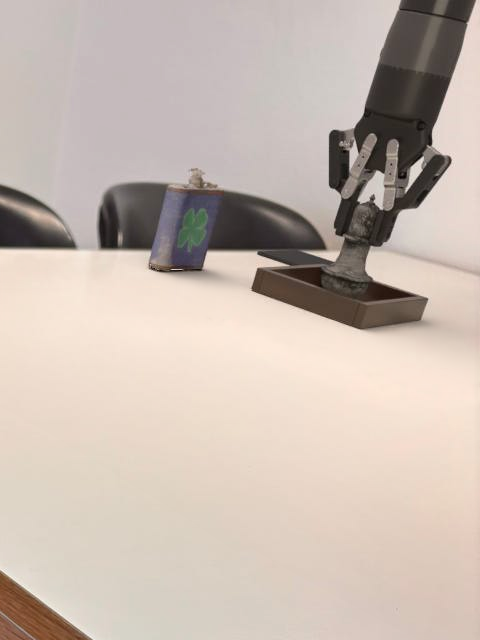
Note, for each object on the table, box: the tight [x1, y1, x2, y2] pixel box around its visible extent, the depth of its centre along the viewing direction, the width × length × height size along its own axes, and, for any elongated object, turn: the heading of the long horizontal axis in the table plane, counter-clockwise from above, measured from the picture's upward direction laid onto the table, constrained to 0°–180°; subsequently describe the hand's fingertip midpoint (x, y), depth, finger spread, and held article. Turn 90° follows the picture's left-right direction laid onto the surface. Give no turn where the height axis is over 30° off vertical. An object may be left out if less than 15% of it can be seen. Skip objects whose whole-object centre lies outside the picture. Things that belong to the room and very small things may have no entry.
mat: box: [256, 249, 335, 266], centre depth 142 cm, size 10×10×1 cm
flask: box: [147, 167, 225, 271], centre depth 121 cm, size 9×3×11 cm, turn 133°
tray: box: [250, 264, 429, 330], centre depth 121 cm, size 15×14×2 cm
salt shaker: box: [321, 193, 381, 298], centre depth 119 cm, size 6×6×12 cm
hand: (358, 239), depth 118 cm, fingers closed on salt shaker, 3 cm apart
